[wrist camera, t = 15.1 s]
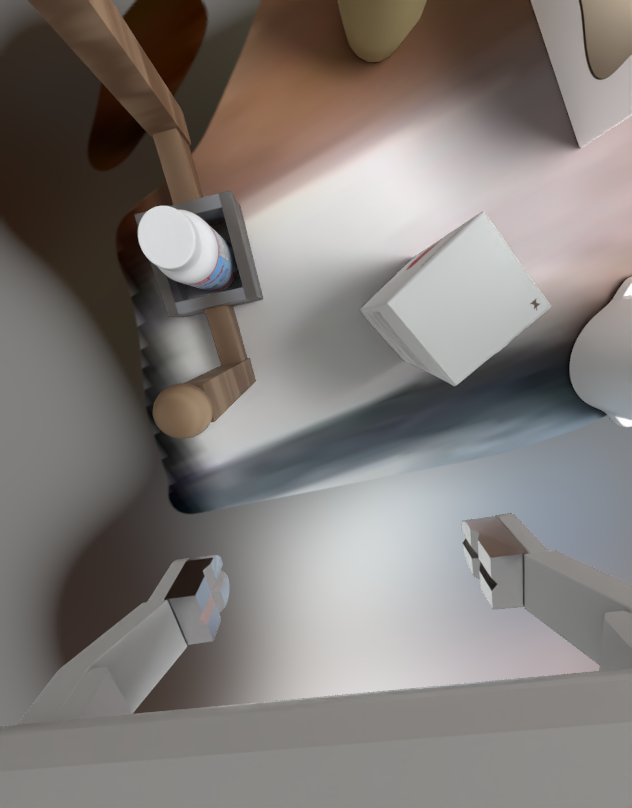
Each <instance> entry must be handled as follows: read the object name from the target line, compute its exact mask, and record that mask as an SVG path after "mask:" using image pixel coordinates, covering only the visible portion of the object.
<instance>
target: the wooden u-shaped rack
mask: <svg viewBox="0 0 632 808" xmlns="http://www.w3.org/2000/svg"><path fill="white" fill-rule="evenodd" d="M28 1H29V2H30V3H31V4H32V5H33V6H34V8H35V9H36V10H37V11H38V12H39V13H40V14H41V15H42V16H43V17H44V19H45V20H46V21H47V22H48V23H49V24H50V25H51V26H52V28H53V29H54V30H55V31H56V32H57V33H58V34H59V35H60V36H61V38H62V39H63V40H64V41H65V42H66V43H67V44H68V45H69V46H70V48H71V49H72V50H73V51H74V52H75V53H76V54H77V55H78V56H79V58H80V59H81V60H82V61H83V62H84V63H85V64H86V65H87V66H88V68H89V69H90V70H91V71H92V72H93V73H94V74H95V75H96V76H97V78H98V79H99V80H100V81H101V82H102V83H103V84H104V85H105V86H106V88H107V89H108V90H109V91H110V92H111V93H112V94H113V95H114V96H115V98H116V99H117V100H118V101H119V102H120V103H121V104H122V105H123V106H124V108H125V109H126V110H127V111H128V112H129V113H130V114H131V115H132V116H133V118H134V119H135V120H136V121H137V122H138V123H139V124H140V125H141V126H142V128H143V129H144V130H145V131H146V132H147V133H148V134H149V135H150V136H151V137H152V139H153V140H154V142H155V145H156V148H157V151H158V155H159V158H160V162H161V165H162V168H163V172H164V175H165V178H166V182H167V185H168V188H169V192H170V195H171V198H172V202H173V205H171V206H169V207H173V208H175V209H177V210H186V211H189V212H192V213H194V214H196V215H197V216H199V217H200V218H202V219H203V220H204V221H205V222H206V223H207V224H208V225H209V226H212V225H216V224H220V223H224V222H226V225H227V228H228V232H229V236H230V240H231V244H232V248H233V251H234V255H235V259H236V263H237V267H238V271H239V274H240V278H241V282H242V286H243V287H241V288H237V289H232V290H228V291H224V292H219V293H215V294H211V295H206V296H202V297H198V298H193V299H188V296H187V293H186V290H185V286H184V284H183V283H180V282H177V281H175V280H172V279H171V278H169V277H168V276H166V275H165V274H164V273H163V272H162V271H161V270H160V269H159V268H158V266H157V265H155V264H154V263H152V262H151V261H150V260H149V261H150V264H151V267H152V270H153V273H154V276H155V279H156V282H157V285H158V288H159V291H160V294H161V297H162V300H163V303H164V306H165V309H166V312H167V315H168V317H186V316H191V315H195V314H200V313H204V312H206V315H207V318H208V322H209V325H210V328H211V332H212V335H213V338H214V342H215V345H216V348H217V352H218V355H219V358H220V362H221V365H222V366H220V367H217V368H215V369H213V370H211V371H209V372H207V373H205V374H203V375H200V376H198V377H196V378H194V379H192V380H190V381H188V382H185V383H183V384H176V385H172V386H170V387H168V388H166V389H165V390H163V391H162V392H161V393H160V394H159V395H158V397H157V398H156V400H155V402H154V405H153V417H154V420H155V423H156V424H157V426H158V427H159V429H160V430H161V431H163V432H164V433H165V434H167V435H169V436H171V437H174V438H180V439H185V438H191V437H194V436H197V435H199V434H200V433H202V432H203V431H204V430H205V429H206V428H207V427H208V425H209V424H210V422H215V421H216V420H217V419H218V418H219V417H220V416H221V415H222V414H223V413H224V412H225V411H226V410H227V409H228V408H229V407H230V406H231V405H232V404H233V403H234V402H235V401H236V400H237V399H238V398H239V397H240V396H241V395H242V394H243V393H244V392H245V391H246V390H247V389H248V388H249V387H250V386H251V385H252V384H253V383H254V382H255V381H256V380H255V376H254V373H253V369H252V365H251V362H250V358H248V359H247V356H246V352H245V349H244V345H243V341H242V338H241V334H240V330H239V327H238V323H237V319H236V316H235V312H234V308H233V306H235V305H239V304H243V303H248V302H252V301H257V300H261V299H263V296H262V292H261V288H260V284H259V280H258V276H257V272H256V268H255V264H254V260H253V256H252V252H251V247H250V243H249V239H248V235H247V231H246V227H245V223H244V219H243V215H242V211H241V207H240V205H239V203H238V202H237V200H236V199H235V197H234V196H233V194H232V193H231V191H226V192H222V193H219V194H215V195H211V196H207V197H203V195H202V192H201V188H200V185H199V181H198V177H197V174H196V170H195V166H194V163H193V159H192V155H191V152H190V148H189V146H190V145H191V141H190V138H189V134H188V130H187V127H186V123H185V119H184V115H183V112H182V110H181V108H180V107H179V105H178V104H177V102H176V101H175V99H174V97H173V96H172V94H171V93H170V91H169V90H168V88H167V86H166V85H165V83H164V82H163V80H162V79H161V77H160V76H159V74H158V72H157V71H156V69H155V68H154V66H153V65H152V63H151V61H150V60H149V58H148V57H147V55H146V54H145V52H144V51H143V49H142V47H141V46H140V44H139V43H138V41H137V40H136V38H135V36H134V35H133V33H132V32H131V30H130V29H129V27H128V26H127V24H126V22H125V21H124V19H123V18H122V16H121V15H120V13H119V12H118V10H117V8H116V7H115V5H114V4H113V2H112V1H111V0H28ZM145 213H146V212H143V213H139V214H135V215H134V216H135V219H136V222H137V225H138V227H139V223H140V221H141V219H142V217H143V215H144V214H145Z"/></svg>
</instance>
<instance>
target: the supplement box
mask: <svg viewBox="0 0 632 808" xmlns="http://www.w3.org/2000/svg"><path fill="white" fill-rule="evenodd" d="M550 308H551V305H550V303H549V302H548V301H547V299H546V298H545V297H544V295H543V294H542V292H541V291H540V290H539V288H538V287H537V286H536V284H535V283H534V281H533V280H532V279H531V277H530V276H529V275H528V273H527V272H526V270H525V269H524V268H523V266H522V265H521V264H520V262H519V261H518V259H517V258H516V256H515V255H514V253H513V252H512V250H511V249H510V248H509V246H508V245H507V243H506V242H505V240H504V239H503V237H502V236H501V234H500V233H499V231H498V230H497V228H496V227H495V226H494V224H493V223H492V222H491V220H490V219H489V218H488V216H487V215H486V213H485V212H481V213H480V214H478V215H476V216H475V217H473V218H472V219H470V220H469V221H467V222H466V223H464V224H463V225H461V226H460V227H458V228H457V229H455V230H454V231H452V232H451V233H449V234H448V235H446V236H445V237H443V238H442V239H440V240H439V241H437V242H436V243H434V244H433V245H432V246H430V247H429V248H427V249H426V250H424V251H422V252H421V253H419V254H418V255H416V256H415V257H414V258H413V259H411V260H410V261H409V262H408V263H407V264H406V265H405V266H404V267H403V268H402V269H401V270H400V271H399V272H398V273H397V274H396V275H395V276H394V277H393V278H392V279H390V280H389V281H388V282H387V283H386V284H385V285H384V286H383V287H382V288H381V289H380V290H379V291H378V292H377V293H376V294H375V295H374V296H373V297H372V298H371V299H370V300H369V301H368V302H367V303H366V304H365V305H364V306H363V307H362V308H361V309H360V312H361V313H362V314H363V315H364V316H365V318H366V319H367V320H368V321H369V322H370V323H371V324H372V325H373V327H374V328H375V329H376V330H377V331H378V332H379V333H380V335H381V336H382V337H383V338H384V339H385V340H386V341H387V342H388V344H389V345H390V346H391V347H392V348H393V349H394V350H395V352H396V353H397V354H398V355H399V356H400V357H401V358H402V359H403V360H404V361H406V362H408V363H410V364H412V365H414V366H416V367H418V368H420V369H422V370H424V371H426V372H428V373H430V374H432V375H434V376H436V377H438V378H440V379H442V380H444V381H446V382H448V383H450V384H451V385H453V386H456V385H458V384H459V383H460V382H461V381H463V380H464V379H465V378H466V377H467V376H469V375H470V374H471V373H472V372H473V371H475V370H476V369H477V368H478V367H480V366H481V365H482V364H483V363H484V362H486V361H487V360H488V359H489V358H490V357H492V356H493V355H494V354H496V353H498V352H499V351H500V350H502V349H503V348H504V347H505V346H506V345H507V344H508V343H509V342H510V341H511V340H512V339H513V338H515V337H516V336H517V335H518V334H519V333H521V332H522V331H523V330H524V329H525V328H527V327H528V326H529V325H530V324H532V323H533V322H534V321H535V320H537V319H538V318H539V317H540V316H541V315H542V314H544V313H545V312H546V311H547V310H548V309H550Z"/></svg>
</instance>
